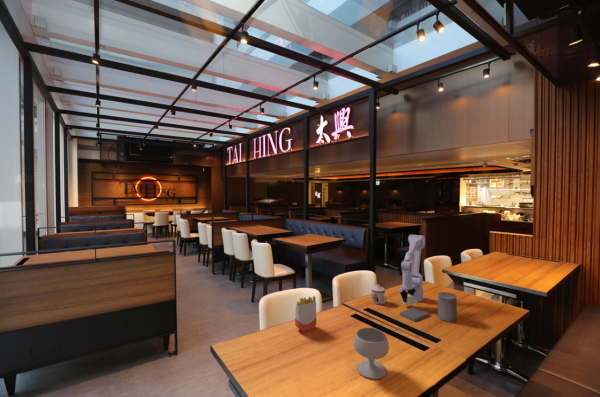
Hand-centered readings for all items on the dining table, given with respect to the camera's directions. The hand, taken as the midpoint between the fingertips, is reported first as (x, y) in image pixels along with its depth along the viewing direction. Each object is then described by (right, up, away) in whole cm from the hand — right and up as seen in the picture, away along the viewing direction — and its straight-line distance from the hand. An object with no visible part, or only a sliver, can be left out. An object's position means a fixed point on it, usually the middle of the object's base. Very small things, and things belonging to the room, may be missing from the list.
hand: (407, 300), depth 176 cm
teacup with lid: (-16, -4, +7) cm, 18 cm away
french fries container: (-66, -6, -27) cm, 71 cm away
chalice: (-39, -6, -62) cm, 74 cm away
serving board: (-1, -4, -12) cm, 13 cm away
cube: (0, -2, 0) cm, 2 cm away
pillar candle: (+16, -4, -17) cm, 24 cm away
